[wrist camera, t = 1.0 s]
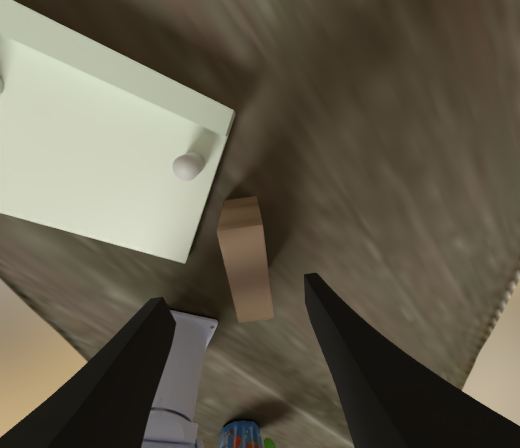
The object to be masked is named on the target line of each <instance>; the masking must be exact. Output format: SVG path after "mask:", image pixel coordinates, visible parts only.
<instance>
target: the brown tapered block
mask: <svg viewBox="0 0 520 448" xmlns="http://www.w3.org/2000/svg"><path fill="white" fill-rule="evenodd" d="M216 232H217V236H218V240H219V244H220V248H221V252H222V256H223V260H224V264H225V269H226V273H227V277H228V281H229V285H230V289H231V293H232V297H233V301H234V305H235V309H236V314H237V318H238V322H239V323H244V322H251V321H258V320H264V319H271V318H274V315H273V307H272V298H271V290H270V281H269V273H268V264H267V256H266V247H265V239H264V231H263V223H262V218H261V213H260V209H259V204H258V199H257V196H253V197H245V198H237V199H230V200H224V203H223V207H222V211H221V215H220V219H219V223H218V226H217V230H216Z"/></svg>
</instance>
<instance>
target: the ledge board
mask: <svg viewBox="0 0 520 448" xmlns="http://www.w3.org/2000/svg"><path fill="white" fill-rule="evenodd" d="M234 117H235V112H234V110H232V109H230V108H228V107H226V106H224V105H222V104H220V103H218V102H216V101H214V100H212V99H210V98H208V97H206V96H204V95H202V94H200V93H198V92H196V91H194V90H192V89H190V88H188V87H186V86H184V85H182V84H180V83H178V82H176V81H174V80H172V79H170V78H168V77H166V76H164V75H162V74H160V73H158V72H156V71H154V70H152V69H150V68H148V67H146V66H144V65H142V64H140V63H138V62H136V61H134V60H132V59H130V58H128V57H126V56H124V55H122V54H120V53H118V52H116V51H114V50H112V49H110V48H108V47H106V46H104V45H102V44H100V43H98V42H96V41H94V40H92V39H89V38H87V37H85V36H83V35H81V34H79V33H77V32H75V31H73V30H71V29H69V28H67V27H65V26H63V25H61V24H59V23H57V22H55V21H53V20H51V19H49V18H47V17H45V16H43V15H41V14H39V13H37V12H35V11H33V10H31V9H29V8H27V7H25V6H23V5H21V4H19V3H17V2H15V1H13V0H0V213H3V214H7V215H10V216H14V217H17V218H21V219H25V220H28V221H32V222H36V223H39V224H43V225H46V226H50V227H54V228H57V229H61V230H65V231H68V232H72V233H76V234H79V235H83V236H86V237H90V238H94V239H97V240H101V241H105V242H108V243H112V244H115V245H119V246H123V247H126V248H130V249H134V250H137V251H141V252H144V253H148V254H152V255H155V256H159V257H163V258H166V259H170V260H174V261H177V262H181V263H184V264H185V262H186V260H187V258H188V255H189V252H190V249H191V246H192V243H193V240H194V237H195V234H196V231H197V228H198V225H199V222H200V219H201V216H202V213H203V210H204V207H205V204H206V201H207V198H208V195H209V192H210V189H211V186H212V183H213V180H214V177H215V174H216V171H217V168H218V165H219V162H220V159H221V156H222V153H223V150H224V147H225V144H226V141H227V138H228V135H229V132H230V129H231V126H232V123H233V120H234Z"/></svg>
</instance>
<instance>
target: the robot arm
mask: <svg viewBox="0 0 520 448" xmlns="http://www.w3.org/2000/svg"><path fill="white" fill-rule="evenodd" d="M304 286H305V304H306V307H307V311H308V314H309V318H310V321H311V324H312V327H313V329H314V332H315V334H316V337H317V339H318V342H319V344H320V347H321V349H322V352H323V354H324V357H325V359H326V362H327V364H328V367H329V369H330V372H331V374H332V377H333V380H334V383H335V385H336V389H337V392H338V395H339V398H340V401H341V404H342V408H343V411H344V414H345V417H346V421H347V424H348V427H349V430H350V434H351V437H352V440H353V443H354V447H355V448H520V426H519V425H517V424H515V423H513V422H512V421H510V420H508V419H507V418H505V417H503V416H502V415H500V414H498V413H497V412H495V411H493V410H491V409H490V408H488V407H486V406H485V405H483V404H482V403H480V402H478V401H477V400H475V399H473V398H472V397H470V396H469V395H467V394H466V393H464V392H462V391H461V390H460V389H458V388H456V387H455V386H453V385H452V384H450V383H449V382H447V381H446V380H444V379H443V378H441V377H440V376H438V375H437V374H435V373H434V372H432V371H431V370H429V369H428V368H427V367H425V366H424V365H422V364H421V363H419V362H418V361H416V360H415V359H413V358H412V357H411V356H409V355H408V354H406V353H405V352H404V351H402V350H401V349H400V348H398V347H397V346H396V345H394V344H393V343H392V342H390V341H389V340H388V339H387V338H385V337H384V336H383V335H382V334H380V333H379V332H378V331H377V330H375V329H374V328H373V327H372V326H371V325H369V324H368V323H367V322H366V321H365V320H364V319H363V318H361V317H360V316H359V315H358V314H357V313H356V312H355V311H354V310H353V309H351V308H350V307H349V306H348V305H347V304H346V303H345V302H344V301H343V300H342V299H341V298H340V297H339V296H338V295H337V294H336V293H335V292H334V291H333V290H332V289H331V288H330V287H329V286H328V285H327V284H326V282H325V281H324V280H323V279H322V278H321V277H320V276H319V275H318V274H317V273H311V274H304ZM217 325H218V321H217V320H215V319H210V318H206V317H201V316H196V315H191V314H187V313H182V312H177V311H173V310H169V308H168V306H167V304H166V302H165V300H164V298H163V297H158V298H152V299H150V300H149V301H148V302H147V303H146V304H145V305H144V306H143V307H142V308H141V309H140V310H139V311H138V312H137V313H136V314H135V315H134V316H133V317H132V318H131V319H130V320H129V321H128V323H127V324H126V325H125V326H124V327H123V328H122V329H121V330H120V331H119V332H118V333H117V334H116V335H115V336H114V337H113V338H112V339H111V340H110V341H109V342H108V343H107V344H106V345H105V346H104V347H103V348H102V349H101V350H100V351H99V352H98V353H97V354H96V355H95V356H94V357H93V358H92V359H91V360H90V361H89V362H88V363H87V364H86V365H85V366H84V367H82V369H81V370H79V371H78V372H77V373H76V374H75V375H74V376H73V377H72V378H71V379H70V380H68V381H67V382H66V383H65V384H64V385H63V386H62V387H60V388H59V389H58V390H57V391H56V392H55V393H54V394H52V396H50V397H49V398H48V399H47V400H46V401H44V402H43V403H42V404H41V405H40V406H38V407H37V408H36V409H35V410H34V411H32V412H31V413H30V414H29V415H28V416H26V417H25V418H24V419H23V420H21V421H20V422H19V423H18V424H16V425H15V426H14V427H13V428H12V429H10V430H9V431H8V432H7V433H5V434H4V435H3V436H2V437H1V438H0V448H204V445H203V441H202V440H201V439H200V438H196V436H197V429H198V423H193V418H194V413H195V407H196V401H197V395H198V389H199V383H200V378H201V372H202V366H203V360H204V354H205V350H206V348H207V345H208V343H209V341H210V339H211V337H212V335H213V333H214V331H215V329H216V327H217Z"/></svg>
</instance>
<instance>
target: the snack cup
mask: <svg viewBox="0 0 520 448" xmlns="http://www.w3.org/2000/svg"><path fill="white" fill-rule="evenodd" d="M264 445H265V448H276V447H275V444H274V442H273V441H272V440H271V439H270V438H266V439H265V440H264ZM219 448H263V447H262V441H261V435H260V430H259V427H258V426H257V424H255V422H254V421H245V420H243V421H234V422H232V423H230V424H228V425H226V426H225V427H224V428H222V433H221V437H220V441H219Z"/></svg>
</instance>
